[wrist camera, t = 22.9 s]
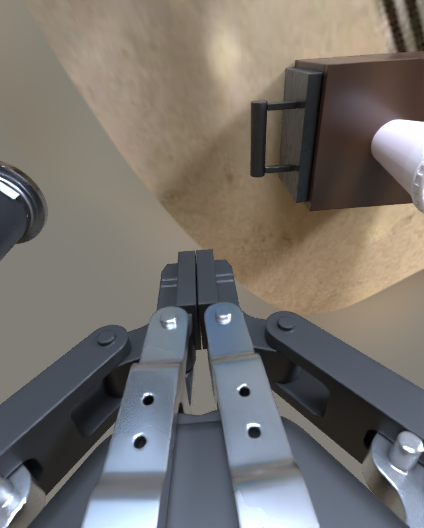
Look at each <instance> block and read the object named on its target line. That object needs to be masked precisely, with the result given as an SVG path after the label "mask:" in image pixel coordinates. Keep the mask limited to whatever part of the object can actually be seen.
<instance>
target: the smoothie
mask: <svg viewBox="0 0 424 528" xmlns="http://www.w3.org/2000/svg"><path fill="white" fill-rule="evenodd" d="M371 152H372V155H373V157H374V158H375V159H376V160H377V161H378V162H379V163H380V164H381V165H382V166H383V167H384V168H385V169H386V170H387V171H388V172H389V173H390V174H391V175H392V176H393V177H394V178H395V179H396V180H397V181H398V183H399V184H400V185H401V186H402V187H403V188H404V189H405V190H406V191H407V192H408V193H409V194H410V195H411V197H412V201H413V204H414V205H415V206H416V208H417V209H418V210H419V211H420V212H422V213H424V122H418V121H409V120H393V121H390V122H388V123H386V124H385V125H383V126H382V127H381V128H380V129H379V130H378V131H377V132H376V134H375V136H374V138H373V140H372V143H371Z"/></svg>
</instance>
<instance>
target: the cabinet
mask: <svg viewBox="0 0 424 528" xmlns="http://www.w3.org/2000/svg"><path fill="white" fill-rule="evenodd" d="M295 68H301V69H306V70H311V71H317V72H322V73H323V75H324V78H323V86H322V94H321V102H320V111H319V119H318V127H317V135H316V143H315V152H314V160H313V168H312V176H311V182H310V185H309V193H308V201H307V202H304V204H305V205H306V206H307V208H308V209H309V211H318V210H331V209H343V208H356V207H369V206H382V205H394V204H407V203H413V201H412V197H411V195H410V194H409V193H408V192H407V191H406V190H405V189H404V188H403V187H402V186H401V185H400V184H399V183H398V181H397V180H396V179H395V178H394V177H393V176H392V175H391V174H390V173H389V172H388V171H387V170H386V169H385V168H384V167H383V166H382V165H381V164H380V163H379V162H378V161H377V160H376V159H375V158H374V157H373V155H372V152H371V143H372V140H373V138H374V136H375V134H376V132H377V131H378V130H379V129H380V128H381V127H382V126H383V125H385V124H386V123H388V122H390V121H393V120H409V121H418V122H424V51H415V52H401V53H388V54H374V55H360V56H346V57H332V58H318V59H305V60H295Z"/></svg>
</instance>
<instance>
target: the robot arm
mask: <svg viewBox="0 0 424 528" xmlns="http://www.w3.org/2000/svg"><path fill="white" fill-rule="evenodd" d="M34 220H35V209H34V206H33V203H32V201H31V199H30V197H29V196H28V194H27V193H26V192H25V191H24V190H23V189H22V188H21V187H20V186H19V185H18V184H17V183H15V182H14V181H12V180H11V179H9V178H7V177H5V176H3V175H0V260H2V258H3V257H4V256H5V255H6V254H7V253H8V252H9V251H10V249H11V248H12V247H13V246H14V245H15V244H16V243H17V242H18V241H19V239H20V238H21V237H22V236H23V235H25V234H26V233H27V232H28V231H29V229H30V228H31V227H32V225H33V223H34ZM196 255H197V256H196ZM196 255H195V251H184V252H179V253H178V263H176V264H167V265H166V267H165V268H164V269H163V271H162V274H161V281H160V290H159V297H158V305H157V311H156V312H155V313H154V314H153V315H152V316H151V318H150V321H149V323H148V324H147V325H145V326H143V327H141V328H139V329H136V330H133V331H130V332H127V331H126V329H125V328H123V327H121V326H118V325H108V326H104V327H102V328H99V329H97V330H96V331H94V332H93V333H92V334H90V335H89V336H88V337H87V338H85V339H84V340H83V341H81V342H80V343H79V344H78V345H76V346H75V347H74V348H72V349H71V350H70V351H69V352H67V354H65V355H63V356H62V357H61V358H60V359H58V360H57V361H56V362H55V363H53V364H52V365H51V366H49V367H48V368H47V369H46V370H44V371H43V372H42V373H40V374H39V375H38V376H37V377H35V378H34V379H33V380H31V381H30V382H29V383H28V384H26V385H25V386H24V387H22V388H21V389H20V390H19V391H17V392H16V393H15V394H14V395H12V396H11V397H10V398H8V399H7V400H6V401H4V402H3V403H2V404H1V405H0V528H424V390H423V389H422V388H420V387H418V386H417V385H415V384H413V383H412V382H410V381H408V380H407V379H405V378H403V377H402V376H400V375H398V374H396V373H395V372H393V371H391V370H390V369H388V368H386V367H385V366H383V365H381V364H380V363H378V362H376V361H375V360H373V359H371V358H370V357H368V356H366V355H365V354H363V353H361V352H360V351H358V350H356V349H355V348H353V347H351V346H349V345H348V344H346V343H345V342H343V341H341V340H340V339H338V338H336V337H334V336H333V335H331V334H329V333H328V332H326V331H324V330H323V329H321V328H319V327H318V326H316V325H314V324H313V323H311V322H309V321H308V320H306V319H304V318H303V317H301V316H299V315H297V314H295V313H292V312H287V311H280V312H276V313H273V314H272V315H270V316H269V317H268V318H267V320H264V319H258V318H254V317H251V316H249V315H247V314H246V313H244V312H243V311H242V310H241V308H240V306H239V302H238V297H237V292H236V287H235V282H234V276H233V271H232V266H231V265H230V264H229V263H228V262H227V260H226V259H224V260H214V257H213V249H208V250H197V251H196ZM196 257H197V264H196ZM200 327H201V328H200ZM201 336H202V345H203V349H207V351H208V361H209V370H210V376H211V383H212V390H213V396H214V403H215V411H212V412H209V413H206V414H203V415H192V406H193V393H194V379H195V361H196V350H201ZM271 389H272V390H273V391H274V392H275V393H277V394H278V395H279V396H280V397H282V398H283V399H284V400H285V401H286V402H288V403H289V404H290V405H291V406H292V407H294V408H295V409H296V410H297V411H298V412H300V413H301V414H302V415H303V416H304V417H306V418H307V419H308V420H309V421H310V422H312V423H313V424H314V425H315V426H317V427H318V428H319V429H320V430H321V431H322V432H324V433H325V434H326V435H327V436H329V437H330V438H331V439H332V440H334V441H335V442H336V443H337V444H338V445H339V446H341V447H342V448H343V449H344V450H345V451H347V452H348V453H349V454H350V455H351V456H353V457H354V458H355V459H356V460H358V461H359V462H360V463H361V464H362V471H363V476H364V479H365V481H366V483H367V485H368V487H369V488H370V490H371V491H372V492H373V493H374V494H373V493H372V492H371V491H370V490H369V489H368V488H367V487H366V486H365V485H364V484H363V483H361V482H360V481H359V480H358V479H357V478H356V477H355V476H354V475H353V474H351V473H350V472H349V471H348V470H347V469H346V468H345V467H344V466H343V465H342V464H341V463H340V462H339V461H337V460H336V459H335V458H334V457H333V456H332V455H331V454H330V453H329V452H327V450H325V449H324V448H323V447H322V446H321V445H320V444H319V443H318V442H317V441H316V440H315V439H313V438H312V437H311V436H310V435H309V434H308V433H307V432H306V431H304V429H302V428H301V427H300V426H298V425H297V424H295V423H294V422H292V421H290V420H289V419H287V418H284V417H282V416H280V414H279V411H278V408H277V405H276V402H275V399H274V396H273V393H272V390H271ZM82 397H83V398H82ZM115 421H116V423H115V426H114V430H113V434H112V435H110V436H109V437H108V438H106V439H105V440H104V441H103V442H102V443H101V444H100V445H99V446H98V447H97V448H96V449H95V450H94V451H93V452H92V454H90V456H89V457H88V458H87V459H86V460H85V461H84V462H83V464H82V465H81V466H80V467H79V468H78V469H77V471H76V472H75V473H74V474H73V475H72V476H71V477H70V478H69V480H68V481H67V482H66V483H65V484H64V485H63V486H62V488H61V489H60V490H59V491H58V492H57V493H56V494H55V496H54V497H53V498H52V499H51V500H50V501H49V502H48V504H47V505H46V506H45V499H46V495H47V494H48V493H49V492H50V491H51V490H52V489H53V487H54V486H55V485H56V484H57V483H58V482H59V481H60V480H61V479H62V478H63V477H64V476H65V475H66V474H67V473H68V471H69V470H70V469H71V468H72V467H73V466H74V465H75V464H76V463H77V462H78V461H79V460H80V459H81V458H82V457H83V456H84V455H85V453H86V452H87V451H88V450H89V449H90V448H91V447H92V446H93V445H94V444H95V443H96V442H97V440H99V439H100V437H101V436H102V435H103V434H104V433H105V432H106V431H107V430H108V429H109V428H110V427H111V426H112V425H113V424H114V422H115ZM44 506H45V507H44Z"/></svg>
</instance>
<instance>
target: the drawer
mask: <svg viewBox="0 0 424 528" xmlns="http://www.w3.org/2000/svg"><path fill="white" fill-rule="evenodd" d="M323 78H324V75H323V73H322V72H317V71H311V70H306V69H301V68H286V70H285V86H284V102H273V103H267V101H265V100H258V101H252V102H251V161H250V175H251V176H252V177H263V176H264V175H265V173H278V172H279V178H280V180H281V181H282V182H283V184H284V185H285V187H286V188H287V190H288V191H289V193H290V194H291V196H292V197H293V199H294V200H295V202H296V203H300V202H307V201H308V193H309V185H310V182H311V176H312V168H313V160H314V152H315V143H316V135H317V127H318V119H319V111H320V102H321V94H322V86H323ZM267 110H268V111H270V110H283V118H282V134H281V150H280V165H275V166H265V152H266V125H267Z"/></svg>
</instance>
